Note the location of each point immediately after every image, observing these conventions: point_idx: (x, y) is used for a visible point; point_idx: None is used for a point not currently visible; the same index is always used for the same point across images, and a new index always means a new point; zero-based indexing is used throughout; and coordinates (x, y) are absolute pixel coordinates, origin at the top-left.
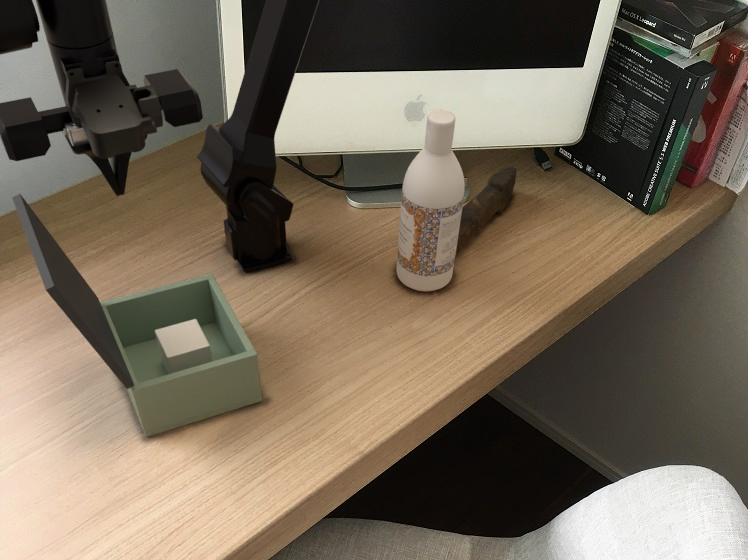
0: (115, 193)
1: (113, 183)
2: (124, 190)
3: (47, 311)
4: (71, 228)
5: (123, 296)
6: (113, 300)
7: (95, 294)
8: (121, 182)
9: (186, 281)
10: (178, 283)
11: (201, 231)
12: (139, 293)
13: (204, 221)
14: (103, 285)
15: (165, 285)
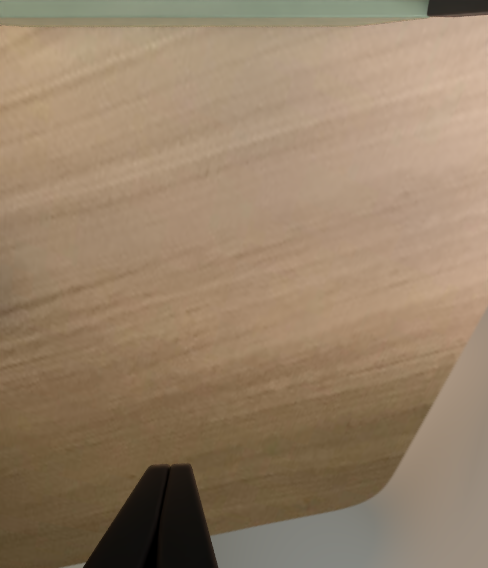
0: (192, 477)
1: (183, 539)
2: (138, 483)
3: (432, 249)
4: (292, 449)
5: (312, 11)
6: (360, 2)
7: (446, 6)
8: (132, 535)
9: (21, 5)
10: (59, 3)
11: (38, 375)
12: (242, 3)
13: (29, 399)
14: (288, 287)
15: (120, 17)
